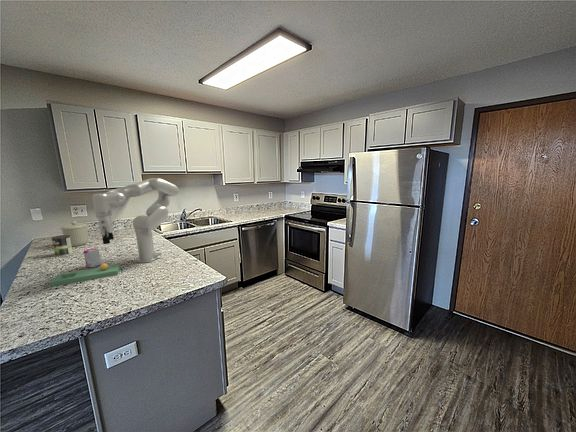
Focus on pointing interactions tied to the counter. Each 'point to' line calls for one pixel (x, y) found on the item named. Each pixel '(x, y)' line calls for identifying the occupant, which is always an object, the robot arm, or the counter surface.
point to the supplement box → (92, 258)
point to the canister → (76, 233)
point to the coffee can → (62, 245)
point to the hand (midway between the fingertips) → (108, 241)
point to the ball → (104, 266)
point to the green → (84, 275)
